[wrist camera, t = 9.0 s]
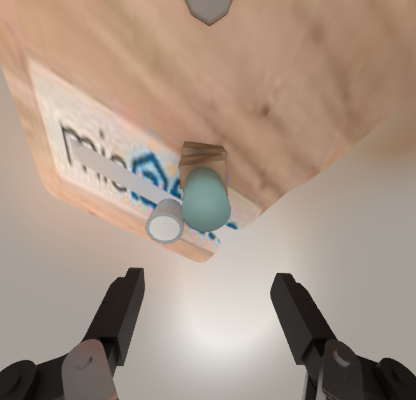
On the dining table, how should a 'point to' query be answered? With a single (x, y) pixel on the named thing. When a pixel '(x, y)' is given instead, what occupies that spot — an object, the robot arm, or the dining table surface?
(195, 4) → the flask
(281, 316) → the robot arm
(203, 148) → the tower base
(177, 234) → the grey cup
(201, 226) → the cylinder
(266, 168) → the dining table surface
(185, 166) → the tower top
